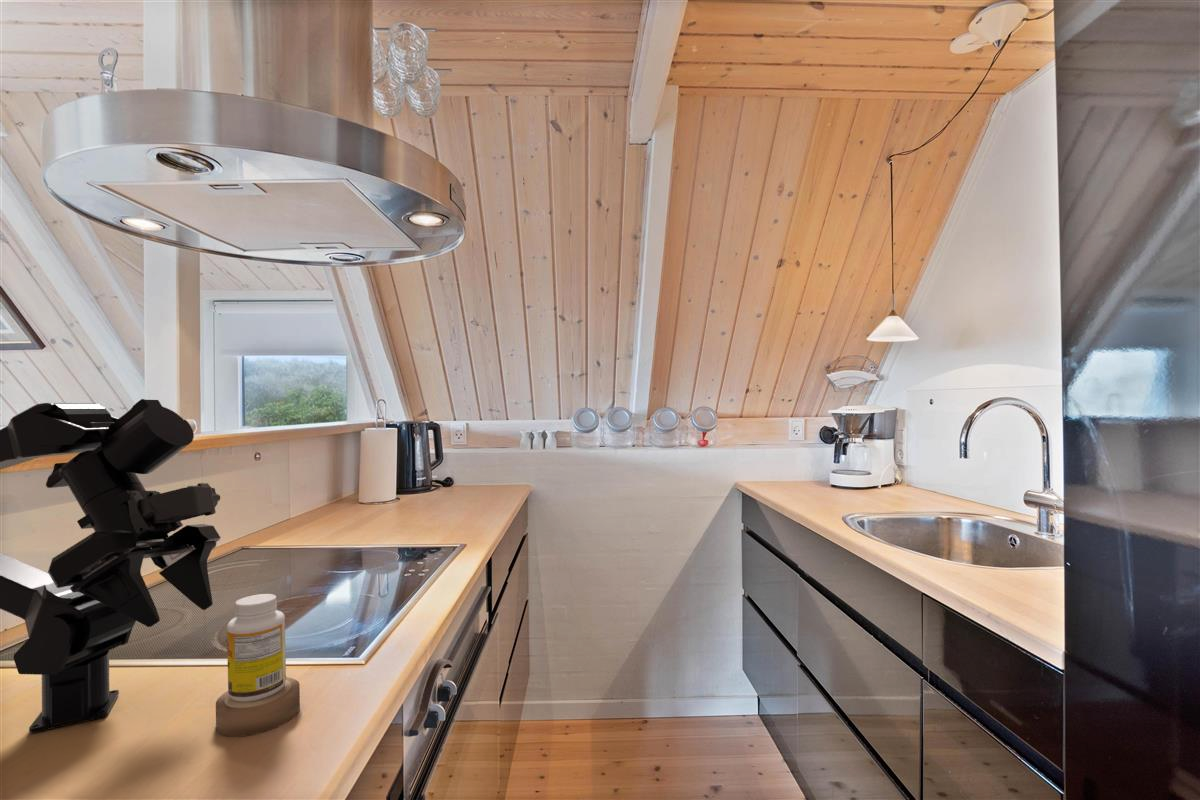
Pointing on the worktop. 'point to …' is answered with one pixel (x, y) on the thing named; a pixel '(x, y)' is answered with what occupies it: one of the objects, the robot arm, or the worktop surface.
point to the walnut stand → (257, 711)
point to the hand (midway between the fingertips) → (183, 615)
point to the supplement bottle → (256, 649)
